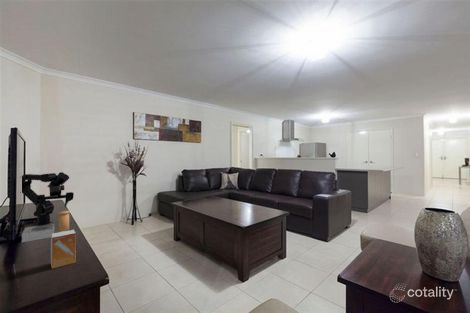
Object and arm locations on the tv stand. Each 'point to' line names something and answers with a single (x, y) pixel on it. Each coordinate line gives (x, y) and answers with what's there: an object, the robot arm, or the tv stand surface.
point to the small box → (63, 248)
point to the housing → (37, 232)
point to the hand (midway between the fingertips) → (56, 208)
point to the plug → (63, 221)
